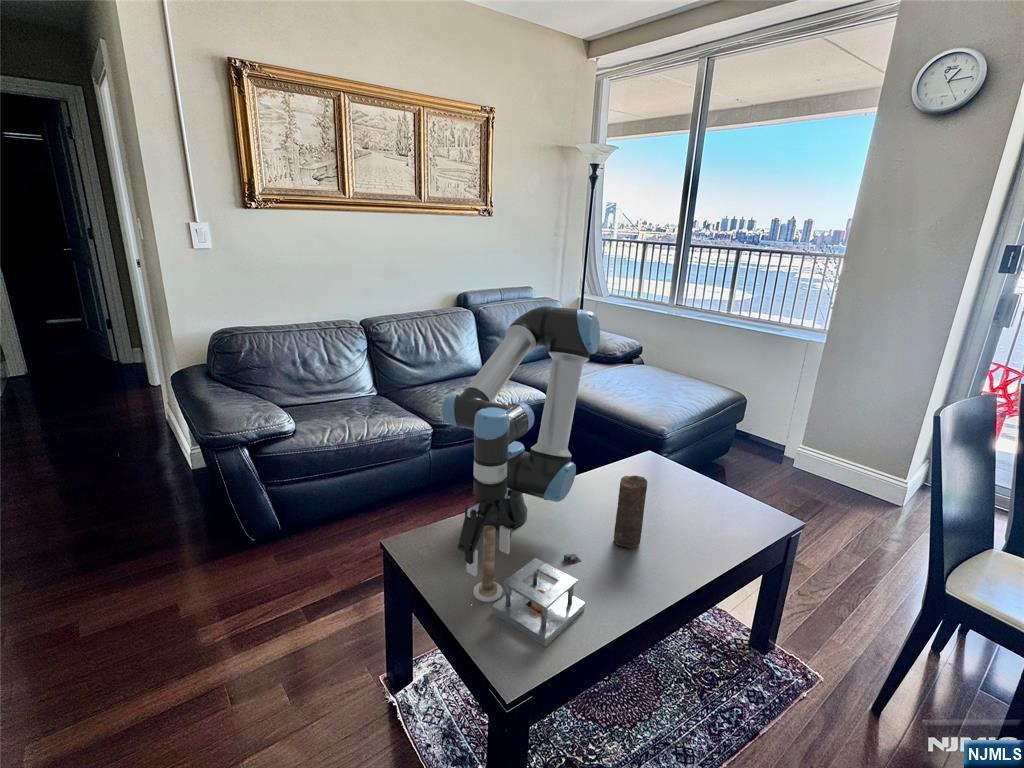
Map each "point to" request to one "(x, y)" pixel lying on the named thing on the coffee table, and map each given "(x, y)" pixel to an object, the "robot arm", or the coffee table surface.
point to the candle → (630, 511)
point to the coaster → (488, 599)
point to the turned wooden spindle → (488, 562)
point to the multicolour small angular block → (571, 558)
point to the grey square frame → (539, 602)
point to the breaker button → (535, 606)
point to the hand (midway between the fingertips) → (488, 562)
